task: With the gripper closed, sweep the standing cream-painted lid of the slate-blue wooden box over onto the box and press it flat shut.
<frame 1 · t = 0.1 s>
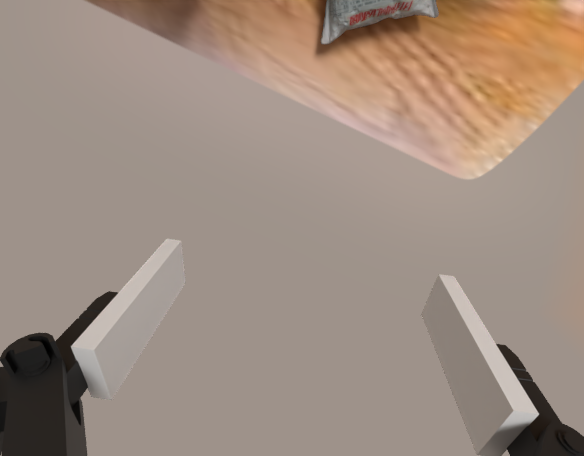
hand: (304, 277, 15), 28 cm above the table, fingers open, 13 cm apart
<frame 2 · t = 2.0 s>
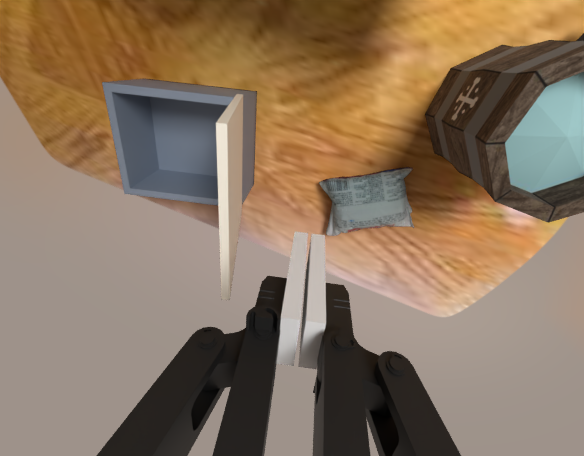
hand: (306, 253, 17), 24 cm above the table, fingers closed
mug: (509, 91, 34), on the table
lid: (233, 184, 25), point 15 cm above the table, hinge at 100.0°
box: (202, 135, 39), on the table
packaged food: (364, 197, 42), on the table
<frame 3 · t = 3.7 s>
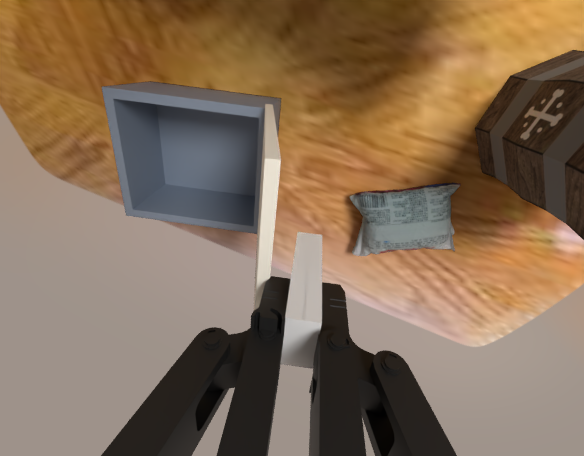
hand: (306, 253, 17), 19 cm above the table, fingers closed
mug: (575, 103, 29), on the table
lid: (263, 217, 20), point 16 cm above the table, hinge at 99.4°, touching gripper
box: (216, 146, 34), on the table
packaged food: (398, 214, 37), on the table
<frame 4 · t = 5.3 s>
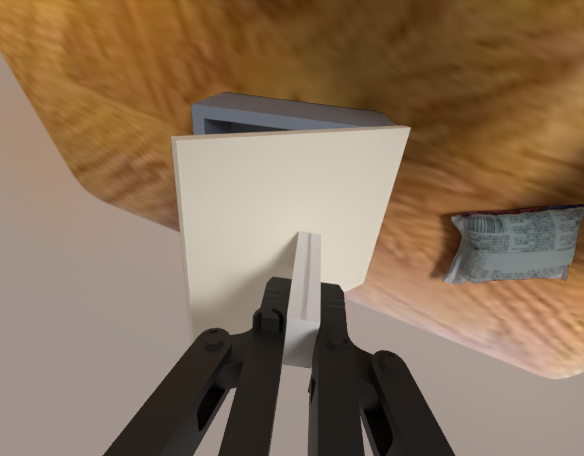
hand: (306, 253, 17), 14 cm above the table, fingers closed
lid: (304, 238, 18), point 13 cm above the table, hinge at 39.9°, touching gripper
box: (294, 166, 29), on the table
packaged food: (498, 236, 32), on the table
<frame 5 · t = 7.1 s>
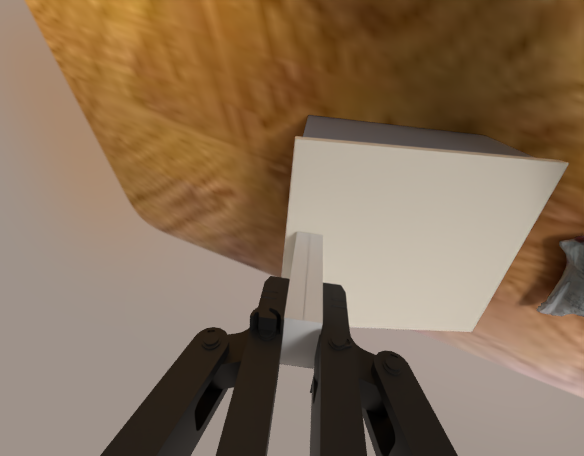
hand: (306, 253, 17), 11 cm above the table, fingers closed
lid: (400, 252, 18), point 9 cm above the table, hinge at 7.2°, touching gripper
box: (377, 194, 26), on the table
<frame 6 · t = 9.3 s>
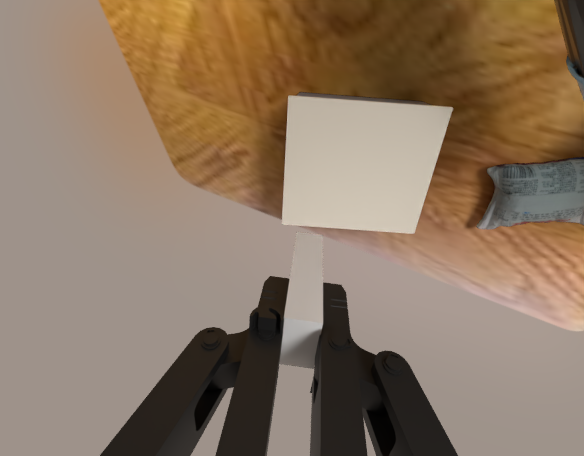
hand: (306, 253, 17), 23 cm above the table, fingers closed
lid: (357, 171, 29), point 9 cm above the table, hinge at 3.2°
box: (351, 149, 37), on the table
packaged food: (525, 189, 38), on the table
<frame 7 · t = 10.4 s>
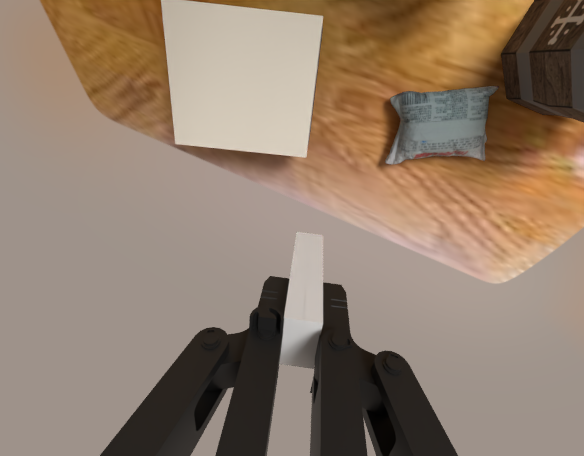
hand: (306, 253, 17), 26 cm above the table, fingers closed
lid: (242, 86, 29), point 9 cm above the table, hinge at 3.2°
packaged food: (432, 125, 38), on the table
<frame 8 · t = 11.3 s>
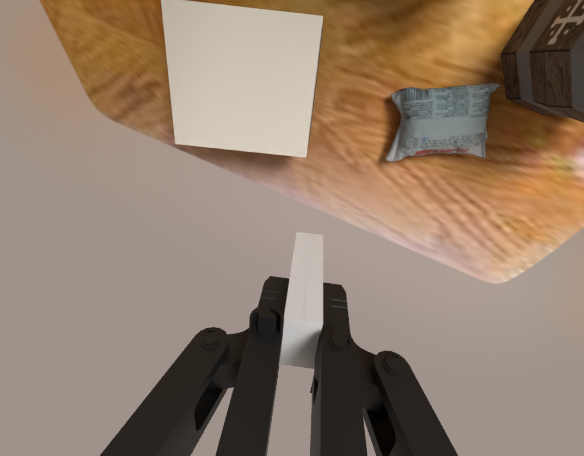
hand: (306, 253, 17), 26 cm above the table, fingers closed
lid: (242, 86, 29), point 9 cm above the table, hinge at 3.2°
packaged food: (433, 123, 38), on the table
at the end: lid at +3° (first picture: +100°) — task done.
